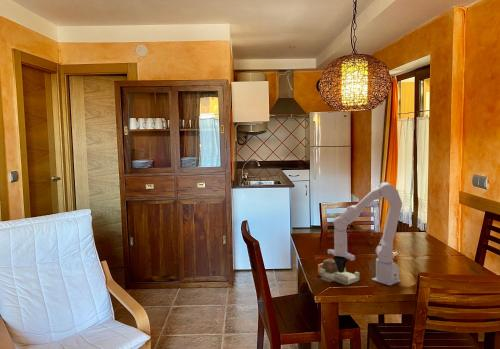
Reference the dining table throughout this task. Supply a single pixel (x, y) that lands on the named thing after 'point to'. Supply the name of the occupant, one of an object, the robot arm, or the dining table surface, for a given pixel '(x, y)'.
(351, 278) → the trap lane
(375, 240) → the dining table surface
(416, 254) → the dining table surface
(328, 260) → the walnut block
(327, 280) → the mats
